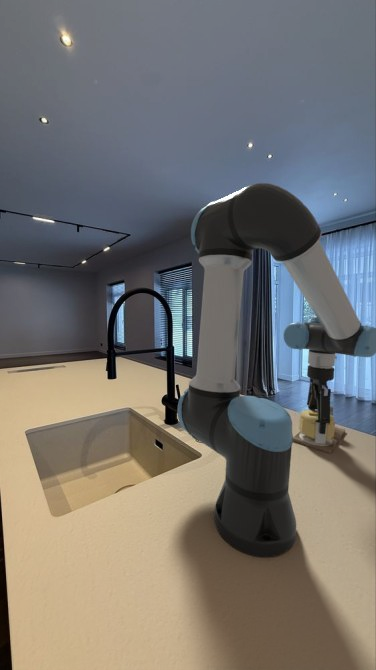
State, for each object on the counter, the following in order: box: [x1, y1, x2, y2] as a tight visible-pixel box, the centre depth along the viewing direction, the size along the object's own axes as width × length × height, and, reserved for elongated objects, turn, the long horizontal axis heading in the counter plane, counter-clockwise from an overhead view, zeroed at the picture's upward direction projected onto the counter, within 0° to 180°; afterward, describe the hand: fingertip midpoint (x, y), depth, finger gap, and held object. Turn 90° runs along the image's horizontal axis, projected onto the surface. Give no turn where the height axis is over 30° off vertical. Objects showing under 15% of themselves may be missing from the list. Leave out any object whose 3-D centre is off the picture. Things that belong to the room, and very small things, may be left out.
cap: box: [298, 409, 336, 440], centre depth 89 cm, size 9×9×6 cm
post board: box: [293, 405, 346, 454], centre depth 93 cm, size 20×11×9 cm, turn 140°
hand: (315, 435), depth 89 cm, fingers closed on cap, 9 cm apart
